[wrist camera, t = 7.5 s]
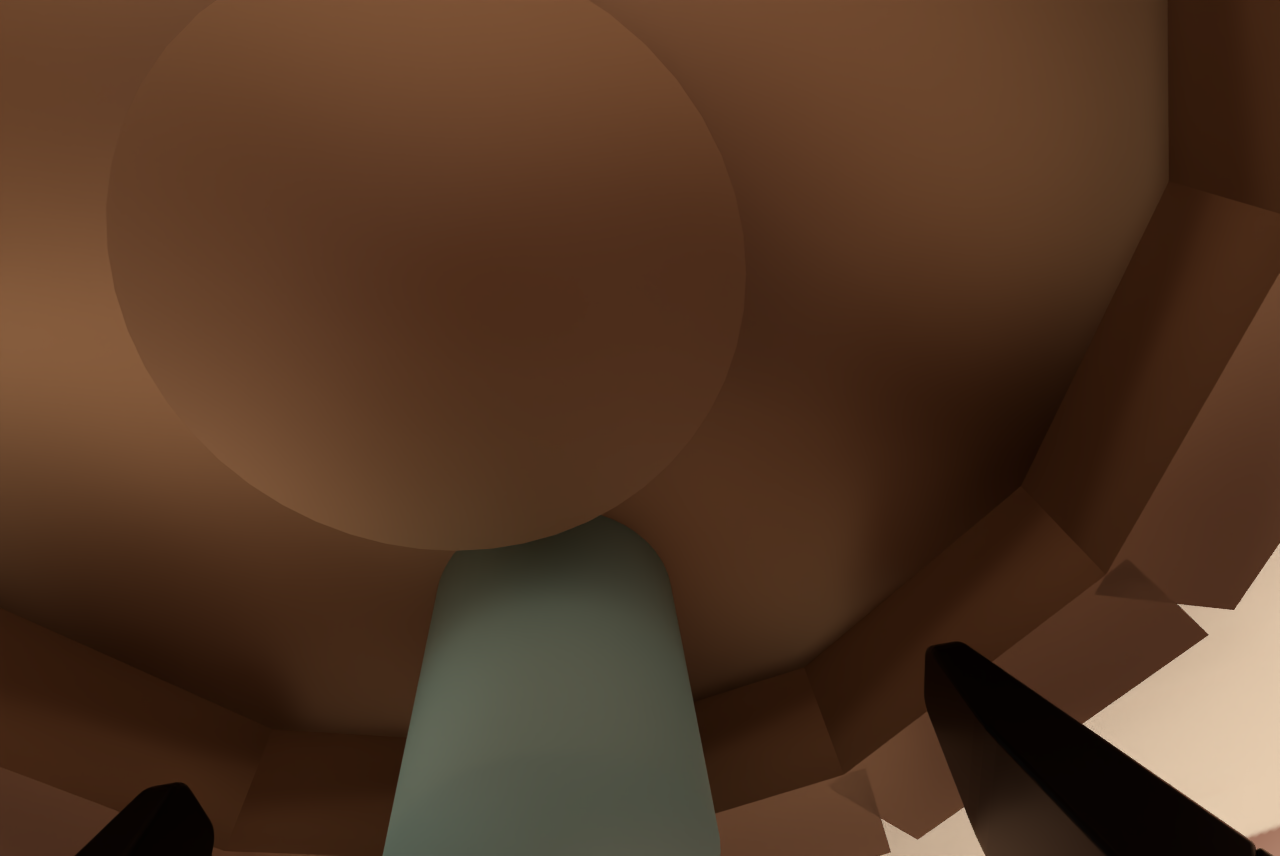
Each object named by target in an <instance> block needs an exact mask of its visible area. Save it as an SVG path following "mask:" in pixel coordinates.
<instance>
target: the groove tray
mask: <svg viewBox="0 0 1280 856" xmlns="http://www.w3.org/2000/svg"><path fill="white" fill-rule="evenodd" d="M600 515H602V516H605V517H608V518H611V519H613V520H615V521H617V522H619V523H621V524H623V525H625V526H627V527H628V528H630V529H631V530H633V531H634V532H636V533H637V534H638V535H640V536H641V537H642V538H643V539H644V540H646V541H647V542H648V543H649V545H650V546H651V547H652V548H653V549H654V550H655V551H656V553H657V554H658V556H659V557H660V559H661V560H662V562H663V564H664V566H665V568H666V571H667V573H668V576H669V580H670V584H671V589H672V594H673V599H674V604H675V609H676V614H677V620H678V625H679V630H680V635H681V640H682V645H683V650H684V656H685V661H686V666H687V671H688V676H689V681H690V687H691V692H692V697H693V702H694V707H695V712H696V718H697V723H698V728H699V733H700V738H701V743H702V748H703V754H704V759H705V764H706V769H707V774H708V779H709V785H710V790H711V795H712V800H713V805H714V810H715V816H716V821H717V826H718V831H719V836H720V849H721V853H720V856H880V855H883V854H887V853H890V852H891V851H890V848H889V844H888V841H887V838H886V834H885V831H884V828H883V824H882V821H881V819H883V820H885V821H887V822H888V823H890V824H892V825H893V826H895V827H897V828H899V829H900V830H902V831H904V832H906V833H907V834H909V835H911V836H912V837H914V838H916V839H919V838H921V837H922V836H923V835H925V834H926V833H928V832H929V831H931V830H932V829H933V828H935V827H936V826H938V825H939V824H940V823H942V822H943V821H945V820H946V819H948V818H949V817H950V816H952V815H953V814H955V813H956V812H958V811H959V810H960V809H962V808H963V807H964V805H963V802H962V800H961V797H960V795H959V792H958V790H957V787H956V784H955V782H954V779H953V777H952V774H951V772H950V769H949V766H948V764H947V761H946V759H945V756H944V754H943V751H942V748H941V746H940V743H939V741H938V738H937V736H936V733H935V730H934V728H933V725H932V723H931V720H930V718H929V715H928V712H927V709H926V705H925V699H924V672H925V653H926V650H927V648H928V647H930V646H932V645H937V644H942V643H948V642H953V641H960V642H963V643H965V644H967V645H968V646H970V647H971V648H973V649H974V650H976V651H977V652H978V653H980V654H981V655H983V656H984V657H986V658H987V659H989V660H990V661H991V662H993V663H994V664H996V665H997V666H999V667H1000V668H1002V669H1003V670H1005V671H1006V672H1007V673H1009V674H1010V675H1012V676H1013V677H1015V678H1016V679H1018V680H1019V681H1020V682H1022V683H1023V684H1025V685H1026V686H1028V687H1029V688H1031V689H1032V690H1033V691H1035V692H1036V693H1038V694H1039V695H1041V696H1042V697H1044V698H1045V699H1047V700H1048V701H1049V702H1051V703H1052V704H1054V705H1055V706H1057V707H1058V708H1060V709H1061V710H1062V711H1064V712H1065V713H1067V714H1068V715H1070V716H1071V717H1073V718H1074V719H1076V720H1077V721H1078V722H1080V723H1081V724H1083V723H1084V722H1085V721H1087V720H1088V719H1090V718H1091V717H1093V716H1094V715H1095V714H1097V713H1098V712H1100V711H1101V710H1103V709H1104V708H1105V707H1107V706H1108V705H1110V704H1111V703H1113V702H1114V701H1115V700H1117V699H1118V698H1120V697H1121V696H1122V695H1124V694H1125V693H1127V692H1128V691H1130V690H1131V689H1132V688H1134V687H1135V686H1137V685H1138V684H1140V683H1141V682H1142V681H1144V680H1145V679H1147V678H1148V677H1149V676H1151V675H1152V674H1154V673H1155V672H1157V671H1158V670H1159V669H1161V668H1162V667H1164V666H1165V665H1167V664H1168V663H1169V662H1171V661H1172V660H1174V659H1175V658H1176V657H1178V656H1179V655H1181V654H1182V653H1184V652H1185V651H1186V650H1188V649H1189V648H1191V647H1192V646H1194V645H1195V644H1196V643H1198V642H1199V641H1201V640H1202V639H1204V638H1205V637H1206V636H1208V634H1207V633H1206V632H1205V631H1204V630H1203V629H1202V628H1201V627H1200V626H1199V625H1198V624H1197V623H1196V622H1195V621H1194V620H1193V619H1192V618H1191V617H1190V616H1189V615H1188V614H1187V613H1186V612H1185V611H1184V610H1183V609H1182V608H1181V607H1180V606H1178V605H1177V604H1184V605H1193V606H1202V607H1212V608H1221V609H1230V610H1234V609H1235V608H1236V606H1237V605H1238V603H1239V602H1240V600H1241V599H1242V597H1243V596H1244V594H1245V593H1246V591H1247V590H1248V589H1249V587H1250V586H1251V584H1252V583H1253V581H1254V580H1255V578H1256V577H1257V575H1258V574H1259V572H1260V571H1261V569H1262V568H1263V567H1264V565H1265V564H1266V562H1267V561H1268V559H1269V558H1270V556H1271V555H1272V553H1273V552H1274V550H1275V549H1276V547H1277V546H1278V545H1279V543H1280V0H0V856H75V855H76V854H77V853H78V852H79V851H80V850H81V849H82V848H83V847H84V846H85V845H86V844H87V843H88V842H89V841H90V840H91V839H92V838H93V837H95V836H96V835H97V834H98V833H99V832H100V831H101V830H102V829H103V828H104V827H105V826H106V825H107V824H108V823H109V822H110V821H111V820H112V819H113V818H114V817H115V816H116V815H117V814H118V813H120V812H121V811H122V810H123V809H124V808H125V807H126V806H127V805H128V804H129V803H130V802H131V801H132V800H133V799H134V798H135V797H136V796H137V795H138V794H140V793H141V792H142V791H143V790H145V789H147V788H149V787H152V786H157V785H162V784H168V783H173V782H182V783H184V784H186V785H188V787H189V788H190V789H191V791H192V792H193V794H194V795H195V797H196V798H197V800H198V802H199V803H200V805H201V806H202V808H203V809H204V811H205V812H206V814H207V816H208V817H209V819H210V820H211V822H212V825H213V829H214V847H213V852H212V856H383V851H384V846H385V841H386V837H387V832H388V827H389V822H390V817H391V812H392V807H393V803H394V798H395V793H396V788H397V783H398V778H399V773H400V769H401V764H402V759H403V754H404V749H405V744H406V739H407V735H408V730H409V725H410V720H411V715H412V710H413V706H414V701H415V696H416V691H417V686H418V681H419V676H420V672H421V667H422V662H423V657H424V652H425V647H426V642H427V638H428V633H429V628H430V623H431V618H432V613H433V608H434V604H435V599H436V594H437V589H438V585H439V581H440V578H441V576H442V573H443V571H444V569H445V567H446V565H447V563H448V562H449V560H450V559H451V557H452V556H453V554H454V553H455V552H456V551H460V550H479V549H492V548H499V547H505V546H511V545H517V544H524V543H527V542H531V541H534V540H538V539H542V538H545V537H549V536H553V535H556V534H559V533H561V532H564V531H566V530H569V529H571V528H574V527H576V526H579V525H581V524H584V523H586V522H588V521H590V520H592V519H594V518H596V517H598V516H600Z"/></svg>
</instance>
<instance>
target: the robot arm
mask: <svg viewBox="0 0 1280 856" xmlns="http://www.w3.org/2000/svg"><path fill="white" fill-rule="evenodd" d="M924 699H925V705H926V709H927V712H928V715H929V718H930V720H931V723H932V725H933V728H934V730H935V733H936V736H937V738H938V741H939V743H940V746H941V748H942V751H943V754H944V756H945V759H946V761H947V764H948V766H949V769H950V772H951V774H952V777H953V779H954V782H955V784H956V787H957V790H958V792H959V795H960V797H961V800H962V802H963V805H964V808H965V810H966V813H967V815H968V818H969V820H970V823H971V825H972V828H973V830H974V832H975V835H976V837H977V839H978V841H979V843H980V845H981V847H982V850H983V852H984V854H985V856H1273V855H1272V854H1270V853H1269V852H1267V851H1266V850H1264V849H1262V848H1259V849H1257V850H1256V847H1255V845H1254V843H1253V842H1252V841H1251V840H1249V839H1248V838H1247V837H1245V836H1244V835H1242V834H1241V833H1239V832H1238V831H1236V830H1235V829H1233V828H1232V827H1231V826H1229V825H1228V824H1226V823H1225V822H1223V821H1222V820H1220V819H1219V818H1218V817H1216V816H1215V815H1213V814H1212V813H1210V812H1209V811H1207V810H1206V809H1205V808H1203V807H1202V806H1200V805H1199V804H1197V803H1196V802H1194V801H1193V800H1191V799H1190V798H1189V797H1187V796H1186V795H1184V794H1183V793H1181V792H1180V791H1178V790H1177V789H1176V788H1174V787H1173V786H1171V785H1170V784H1168V783H1167V782H1165V781H1164V780H1162V779H1161V778H1160V777H1158V776H1157V775H1155V774H1154V773H1152V772H1151V771H1149V770H1148V769H1147V768H1145V767H1144V766H1142V765H1141V764H1139V763H1138V762H1136V761H1135V760H1133V759H1132V758H1131V757H1129V756H1128V755H1126V754H1125V753H1123V752H1122V751H1120V750H1119V749H1118V748H1116V747H1115V746H1113V745H1112V744H1110V743H1109V742H1107V741H1106V740H1105V739H1103V738H1102V737H1100V736H1099V735H1097V734H1096V733H1094V732H1093V731H1091V730H1090V729H1089V728H1087V727H1086V726H1084V725H1083V724H1081V723H1080V722H1078V721H1077V720H1076V719H1074V718H1073V717H1071V716H1070V715H1068V714H1067V713H1065V712H1064V711H1062V710H1061V709H1060V708H1058V707H1057V706H1055V705H1054V704H1052V703H1051V702H1049V701H1048V700H1047V699H1045V698H1044V697H1042V696H1041V695H1039V694H1038V693H1036V692H1035V691H1033V690H1032V689H1031V688H1029V687H1028V686H1026V685H1025V684H1023V683H1022V682H1020V681H1019V680H1018V679H1016V678H1015V677H1013V676H1012V675H1010V674H1009V673H1007V672H1006V671H1005V670H1003V669H1002V668H1000V667H999V666H997V665H996V664H994V663H993V662H991V661H990V660H989V659H987V658H986V657H984V656H983V655H981V654H980V653H978V652H977V651H976V650H974V649H973V648H971V647H970V646H968V645H967V644H965V643H963V642H960V641H953V642H948V643H942V644H937V645H932V646H930V647H928V648H927V650H926V653H925V672H924ZM213 847H214V829H213V825H212V822H211V820H210V819H209V817H208V816H207V814H206V812H205V811H204V809H203V808H202V806H201V805H200V803H199V802H198V800H197V798H196V797H195V795H194V794H193V792H192V791H191V789H190V788H189V787H188V785H186V784H184V783H182V782H173V783H168V784H162V785H157V786H152V787H149V788H147V789H145V790H143V791H142V792H141V793H140V794H138V795H137V796H136V797H135V798H134V799H133V800H132V801H131V802H130V803H129V804H128V805H127V806H126V807H125V808H124V809H123V810H122V811H121V812H120V813H118V814H117V815H116V816H115V817H114V818H113V819H112V820H111V821H110V822H109V823H108V824H107V825H106V826H105V827H104V828H103V829H102V830H101V831H100V832H99V833H98V834H97V835H96V836H95V837H93V838H92V839H91V840H90V841H89V842H88V843H87V844H86V845H85V846H84V847H83V848H82V849H81V850H80V851H79V852H78V853H77V854H76V855H75V856H212V852H213Z"/></svg>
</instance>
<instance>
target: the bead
mask: <svg viewBox="0 0 1280 856" xmlns="http://www.w3.org/2000/svg"><path fill="white" fill-rule="evenodd" d="M720 853H721V849H720V836H719V831H718V826H717V821H716V816H715V810H714V805H713V800H712V795H711V790H710V785H709V779H708V774H707V769H706V764H705V759H704V754H703V748H702V743H701V738H700V733H699V728H698V723H697V718H696V712H695V707H694V702H693V697H692V692H691V687H690V681H689V676H688V671H687V666H686V661H685V656H684V650H683V645H682V640H681V635H680V630H679V625H678V620H677V614H676V609H675V604H674V599H673V594H672V589H671V584H670V580H669V576H668V573H667V571H666V568H665V566H664V564H663V562H662V560H661V559H660V557H659V556H658V554H657V553H656V551H655V550H654V549H653V548H652V547H651V546H650V545H649V543H648V542H647V541H646V540H644V539H643V538H642V537H641V536H640V535H638V534H637V533H636V532H634V531H633V530H631V529H630V528H628V527H627V526H625V525H623V524H621V523H619V522H617V521H615V520H613V519H611V518H608V517H605V516H602V515H600V516H598V517H596V518H594V519H592V520H590V521H588V522H586V523H584V524H581V525H579V526H576V527H574V528H571V529H569V530H566V531H564V532H561V533H559V534H556V535H553V536H549V537H545V538H542V539H538V540H534V541H531V542H527V543H524V544H517V545H511V546H505V547H499V548H492V549H479V550H460V551H456V552H455V553H454V554H453V556H452V557H451V559H450V560H449V562H448V563H447V565H446V567H445V569H444V571H443V573H442V576H441V578H440V581H439V585H438V589H437V594H436V599H435V604H434V608H433V613H432V618H431V623H430V628H429V633H428V638H427V642H426V647H425V652H424V657H423V662H422V667H421V672H420V676H419V681H418V686H417V691H416V696H415V701H414V706H413V710H412V715H411V720H410V725H409V730H408V735H407V739H406V744H405V749H404V754H403V759H402V764H401V769H400V773H399V778H398V783H397V788H396V793H395V798H394V803H393V807H392V812H391V817H390V822H389V827H388V832H387V837H386V841H385V846H384V851H383V856H720Z"/></svg>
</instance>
